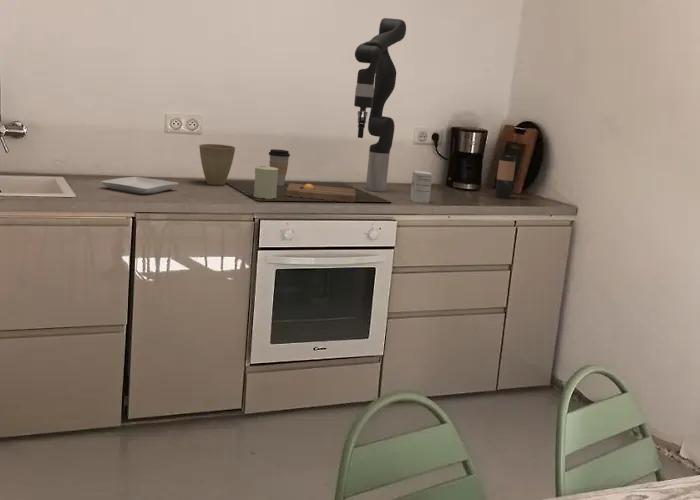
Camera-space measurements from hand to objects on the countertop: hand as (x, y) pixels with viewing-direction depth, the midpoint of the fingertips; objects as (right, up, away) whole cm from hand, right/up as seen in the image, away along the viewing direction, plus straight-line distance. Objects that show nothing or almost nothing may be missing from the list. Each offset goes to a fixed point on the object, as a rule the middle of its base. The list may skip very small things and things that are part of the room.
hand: (360, 137), depth 331 cm
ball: (-21, -21, 0) cm, 30 cm away
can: (-38, -26, -15) cm, 48 cm away
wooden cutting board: (-16, -24, +1) cm, 29 cm away
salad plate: (-85, -24, -25) cm, 92 cm away
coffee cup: (-36, -18, +20) cm, 45 cm away
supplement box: (+25, -26, +11) cm, 38 cm away
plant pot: (-61, -19, +6) cm, 64 cm away
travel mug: (+68, -22, +47) cm, 85 cm away
